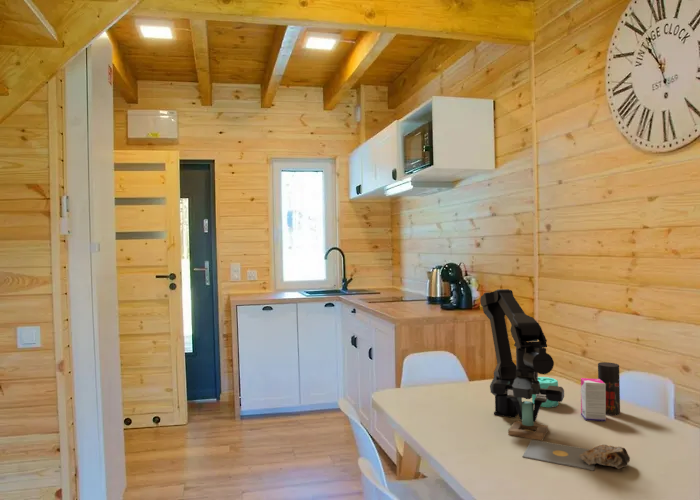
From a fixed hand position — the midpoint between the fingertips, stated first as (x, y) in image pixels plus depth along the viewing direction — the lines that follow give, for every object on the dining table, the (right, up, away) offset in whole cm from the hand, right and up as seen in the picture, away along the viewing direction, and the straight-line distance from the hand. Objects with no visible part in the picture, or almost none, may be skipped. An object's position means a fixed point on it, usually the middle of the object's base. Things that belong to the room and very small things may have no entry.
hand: (527, 420), depth 139 cm
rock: (+11, -3, -22) cm, 25 cm away
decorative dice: (+15, -3, +25) cm, 29 cm away
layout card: (+3, -3, -16) cm, 16 cm away
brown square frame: (0, -3, 0) cm, 3 cm away
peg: (0, -1, 0) cm, 1 cm away
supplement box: (+24, -3, +10) cm, 26 cm away
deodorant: (+31, -3, +15) cm, 35 cm away
